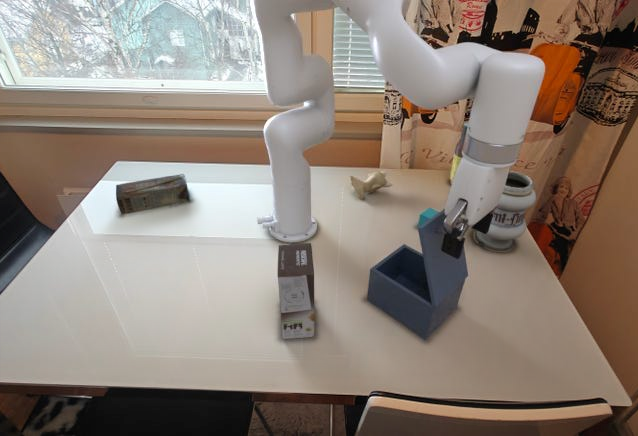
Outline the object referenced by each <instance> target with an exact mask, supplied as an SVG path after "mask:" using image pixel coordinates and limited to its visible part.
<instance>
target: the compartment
mask: <svg viewBox="0 0 638 436" xmlns="http://www.w3.org/2000/svg"><path fill="white" fill-rule="evenodd" d="M368 274H369V275H368V284H367V295H366V301H367V302H369V303H371V304H372V305H374V307H377V308H378V309H379V310H381V311H382V312H383V313H385V314H387V315H388V316H389V317H391V318H392V319H394V320H395V321H396V322H398V323H399V324H401V325H403V326H404V327H405V328H407V329H408V330H410V331H411V332H412V333H414V334H416V336H418V337H420V338H422V339H423V340H424V341H427V340H429V338H430V337H431V336H432V335H433V334H434V333H435V332H436V331H437V330H438V329H439V327H441V325H442V324H443V323H445V321H446V320H447V319H448V318H449V317H450V316H451V315H452V314H453V313H454V312H455V311H456V310H458V309H457V308H458V305H459V301H460V299H461V295H462V292H463V289H464V285H465V282H466V279H465V280H464V281H463V282H462V283H461V284H459V285H458V286H457V287H456V288H455V289H454V290H453V291H452V292H451V293H450V294H449V295H448V296H447V297H446V298H445V299H444V300H443V301H442V302H441V303H440V304H439V305H438V306H437V307H433V306H432V302H431V297H430V291H429V286H428V280H427V275H426V270H425V264H424V259H423V253H422V252H420V251H418V250H416V249H414V248H413V247H411V246H409V245H407V244H405V243H404V244H402V245H401V246H399V247H398V248H397V249H395V250H394V251H392V252H390V254H388V255H387V256H386V257H384V258H382V260H380V261H379V262H377V263H376V264H375V265H374V266H372V267H371V268H369V273H368Z"/></svg>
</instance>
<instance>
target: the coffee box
mask: <svg viewBox="0 0 638 436" xmlns="http://www.w3.org/2000/svg"><path fill="white" fill-rule="evenodd" d="M312 246H313V245H312V242H294V243H289V244H278V249H277V283H278V296H279V309H280V322H281V336H282V339H283V340H287V339H288V340H289V339H290V340H291V339H303V338H313V337H315V328H316V327H315V267H314V258H313V247H312Z"/></svg>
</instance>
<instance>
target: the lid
mask: <svg viewBox="0 0 638 436" xmlns="http://www.w3.org/2000/svg"><path fill="white" fill-rule="evenodd" d="M446 217H447V216H446V215H445V208H443V209H442V210H440V211H439V213H438V214H436V215H435V216H434V217H432V218H431V219H430V220H428V221H427V222H425V223H424V224H423V225H421V226H420V227H418V226H417V231H418V238H419V242H420V247H421V248H420V249H421V253H422V254H423V259H424V264H425V270H426V275H427V280H428V286H429V291H430V297H431V302H432V306H433V307H437V306H438V305H439V304H440V303H441V302H442V301H443V300H444V299H445V298H446V297H447V296H448V295H449V294H450V293H451V292H452V291H453V290H454V289H455V288H456V287H457V286H458V285H459V284H461V283H462V282H463V281H464V280H465V281H466V279H467V278H468V277H469V271H468V264H467V258H466V250H465V245H464V246H463V250H462V253H461V257H460V258H459V259H456V258H454V257H452V256H450V255H448V254H446V253H444V252H442V250H441V247H442V243H443V239H444V234H445V233H444V220H445V219H446ZM464 219H465V220H467V218H466V217H465V218H464ZM463 225H464V224H463V223H461V222H459V221H457V223H456V228H458V229H459V231H460V230H461V228H462V227H463ZM473 226H474V225H470V226H469V228H468V229H467V231H466V233H467V232H469V231H470V230H471V229H473V228H472V227H473Z"/></svg>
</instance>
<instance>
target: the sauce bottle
mask: <svg viewBox="0 0 638 436" xmlns="http://www.w3.org/2000/svg"><path fill="white" fill-rule="evenodd" d="M468 123H469V121H466V122H464V123H463V124H462V131H461V132H462V133H461V136H460V139H459V140H458V141H457V143H456V145H455V149H454V153H453V157H452V164H451V169H450V175H449V183H450V185H452V182H453V179H454V176H455V173H456V171H457V168H458V166H459V163H460V161H461V159H462V158H463V155H462V149H463V144H464V140H465V136H466V132H467V128H468Z"/></svg>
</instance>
